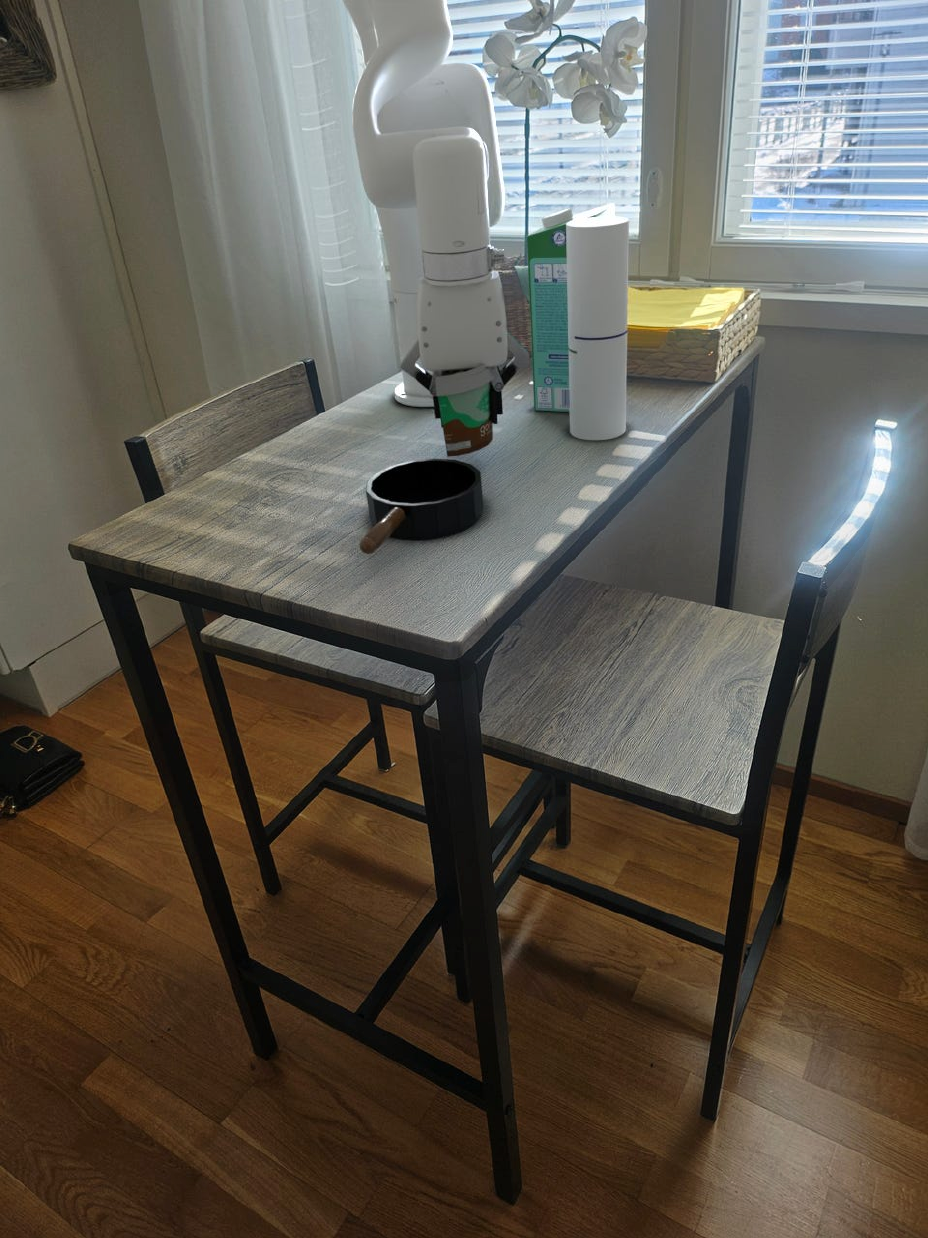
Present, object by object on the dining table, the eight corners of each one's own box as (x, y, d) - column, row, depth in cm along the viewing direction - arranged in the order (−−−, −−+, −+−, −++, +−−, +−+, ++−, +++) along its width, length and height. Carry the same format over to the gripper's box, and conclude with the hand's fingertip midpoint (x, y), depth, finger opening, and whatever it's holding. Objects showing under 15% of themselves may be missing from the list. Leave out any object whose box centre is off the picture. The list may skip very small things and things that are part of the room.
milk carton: (553, 389, 129) (547, 204, 116) (613, 392, 126) (614, 201, 113) (533, 410, 123) (525, 215, 109) (597, 414, 119) (596, 213, 106)
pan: (400, 487, 104) (395, 455, 102) (499, 495, 99) (496, 461, 97) (313, 571, 88) (306, 535, 86) (427, 585, 83) (422, 547, 81)
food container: (497, 459, 102) (488, 374, 97) (445, 461, 103) (434, 378, 98) (506, 419, 112) (499, 341, 107) (459, 422, 113) (450, 345, 108)
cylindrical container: (604, 444, 110) (605, 228, 96) (558, 433, 114) (553, 225, 101) (636, 426, 114) (641, 217, 101) (591, 417, 118) (590, 215, 105)
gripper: (534, 250, 99) (538, 405, 109) (383, 262, 100) (401, 415, 110) (537, 265, 93) (542, 428, 103) (376, 278, 94) (396, 438, 104)
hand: (469, 420), depth 106 cm, fingers closed on food container, 5 cm apart
